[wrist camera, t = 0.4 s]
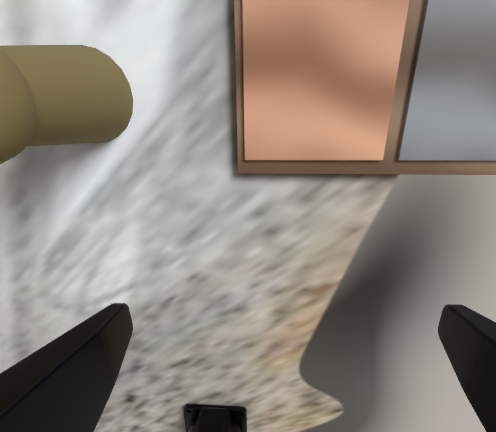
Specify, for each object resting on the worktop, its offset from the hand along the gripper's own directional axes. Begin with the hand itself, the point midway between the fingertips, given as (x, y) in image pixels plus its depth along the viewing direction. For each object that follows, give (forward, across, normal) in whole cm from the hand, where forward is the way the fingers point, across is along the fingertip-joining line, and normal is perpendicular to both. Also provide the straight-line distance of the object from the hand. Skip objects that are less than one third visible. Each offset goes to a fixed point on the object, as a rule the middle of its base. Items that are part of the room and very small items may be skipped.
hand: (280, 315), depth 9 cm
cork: (+14, +12, -6) cm, 20 cm away
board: (+14, -8, -7) cm, 17 cm away
